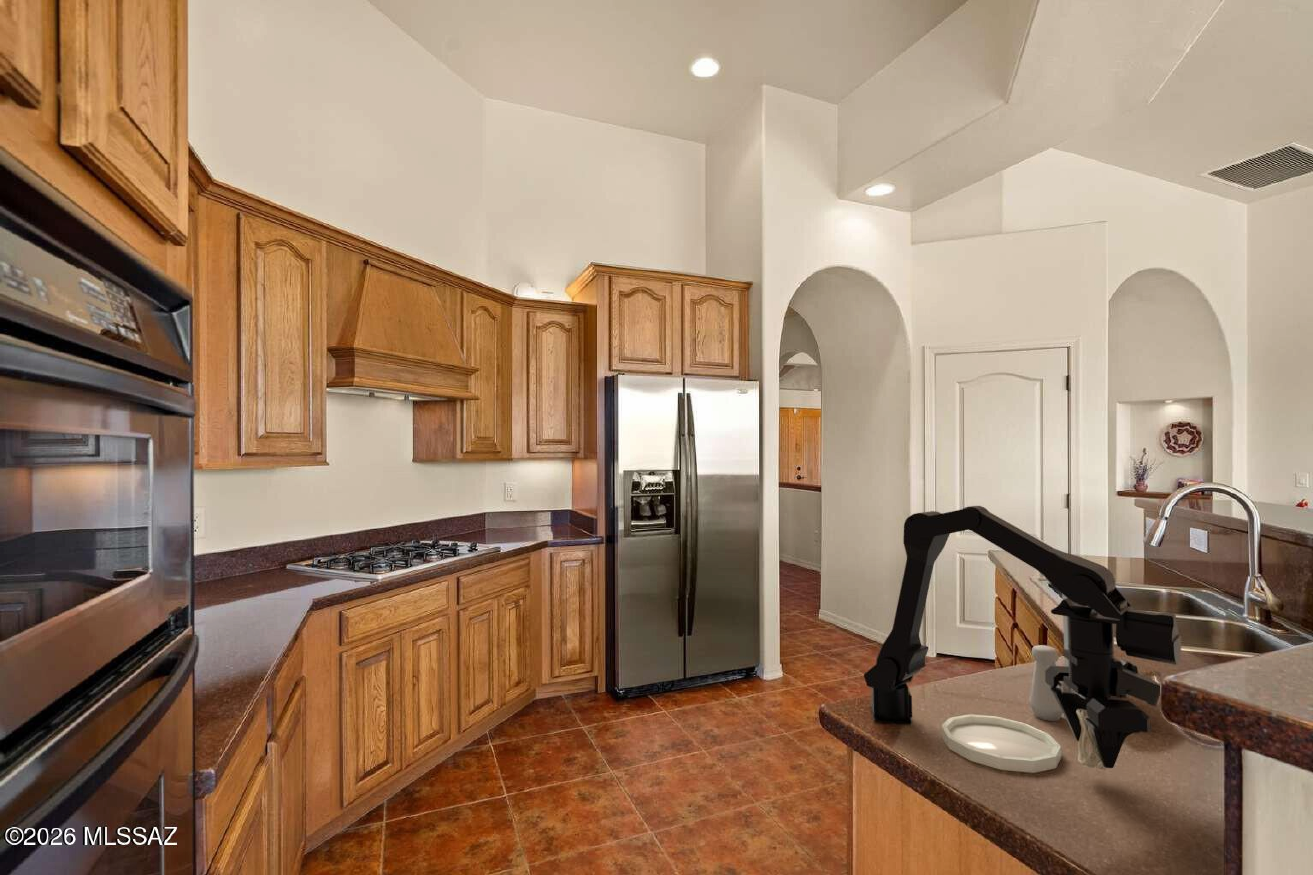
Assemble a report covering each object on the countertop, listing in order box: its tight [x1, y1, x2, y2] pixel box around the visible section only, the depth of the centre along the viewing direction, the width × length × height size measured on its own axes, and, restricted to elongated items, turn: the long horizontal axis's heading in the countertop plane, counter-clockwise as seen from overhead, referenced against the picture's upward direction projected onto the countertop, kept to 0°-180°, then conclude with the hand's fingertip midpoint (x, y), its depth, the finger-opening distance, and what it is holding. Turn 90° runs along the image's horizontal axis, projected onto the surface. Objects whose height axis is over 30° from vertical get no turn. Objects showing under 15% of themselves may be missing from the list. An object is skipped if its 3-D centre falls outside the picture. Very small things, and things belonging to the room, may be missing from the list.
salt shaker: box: [1028, 644, 1064, 722], centre depth 115 cm, size 6×6×13 cm
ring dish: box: [941, 713, 1062, 774], centre depth 103 cm, size 17×17×2 cm
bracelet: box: [1076, 709, 1107, 771], centre depth 91 cm, size 4×8×8 cm, turn 148°
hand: (1094, 753), depth 91 cm, fingers closed on bracelet, 8 cm apart
